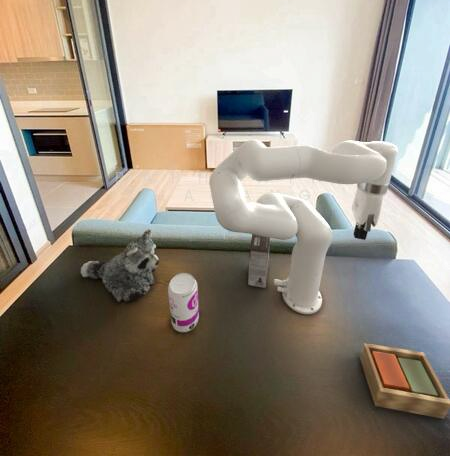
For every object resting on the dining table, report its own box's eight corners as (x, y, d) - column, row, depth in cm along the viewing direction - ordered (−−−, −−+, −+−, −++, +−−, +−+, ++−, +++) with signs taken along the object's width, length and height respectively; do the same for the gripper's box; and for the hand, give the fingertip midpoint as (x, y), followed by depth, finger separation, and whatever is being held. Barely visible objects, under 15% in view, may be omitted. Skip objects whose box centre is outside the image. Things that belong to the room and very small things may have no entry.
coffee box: (250, 265, 94) (252, 231, 88) (267, 268, 93) (270, 233, 87) (247, 285, 85) (249, 249, 80) (266, 288, 84) (269, 251, 78)
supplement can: (203, 313, 76) (202, 277, 70) (189, 338, 69) (186, 300, 63) (181, 303, 79) (178, 267, 74) (165, 326, 72) (161, 289, 67)
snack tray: (375, 405, 56) (380, 391, 54) (359, 357, 65) (363, 343, 63) (443, 418, 54) (452, 404, 52) (417, 366, 63) (423, 352, 61)
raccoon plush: (158, 305, 78) (152, 253, 71) (62, 302, 79) (45, 251, 71) (169, 267, 93) (165, 221, 85) (87, 266, 93) (76, 219, 86)
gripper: (353, 172, 77) (342, 221, 84) (363, 195, 64) (350, 251, 70) (379, 175, 75) (367, 225, 82) (396, 200, 62) (379, 257, 68)
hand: (359, 237), depth 76 cm, fingers closed
